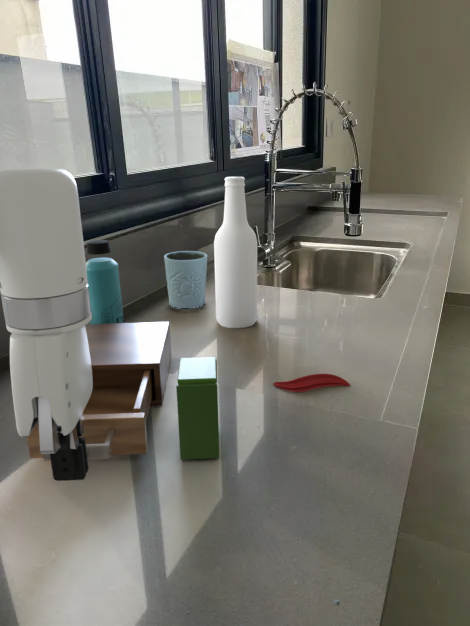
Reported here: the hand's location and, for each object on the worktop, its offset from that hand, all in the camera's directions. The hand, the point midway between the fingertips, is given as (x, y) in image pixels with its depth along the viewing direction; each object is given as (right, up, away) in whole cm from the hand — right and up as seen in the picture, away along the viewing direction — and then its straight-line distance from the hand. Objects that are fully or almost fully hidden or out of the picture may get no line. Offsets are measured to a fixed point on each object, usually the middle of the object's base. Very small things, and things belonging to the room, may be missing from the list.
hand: (71, 475), depth 51 cm
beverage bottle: (-7, +11, +43) cm, 45 cm away
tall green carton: (+13, 0, +11) cm, 17 cm away
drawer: (-1, +2, +13) cm, 13 cm away
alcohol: (+17, +15, +55) cm, 59 cm away
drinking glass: (+6, +19, +68) cm, 70 cm away
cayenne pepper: (+29, +5, +26) cm, 39 cm away
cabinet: (-1, +6, +28) cm, 29 cm away
